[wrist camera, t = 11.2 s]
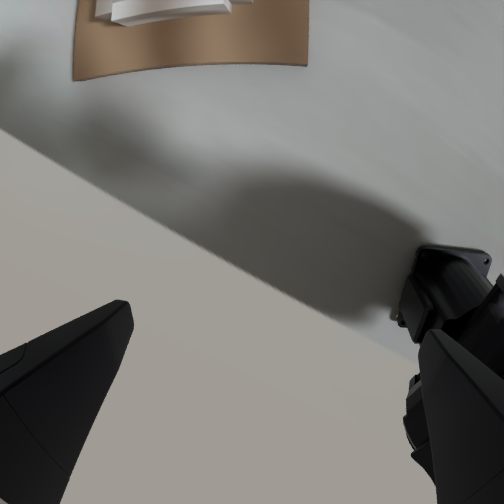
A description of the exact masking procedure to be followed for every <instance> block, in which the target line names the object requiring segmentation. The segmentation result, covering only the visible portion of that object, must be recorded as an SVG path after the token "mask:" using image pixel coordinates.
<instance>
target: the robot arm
mask: <svg viewBox="0 0 504 504" xmlns="http://www.w3.org/2000/svg"><path fill="white" fill-rule="evenodd" d="M423 252H426V254H425V255H424V256H421V255H422V253H423ZM485 259H487V260H486V261H485V262H484V260H485ZM491 261H492V258H491V256H490V255H489V254H487V253H482V252H474V251H465V250H457V249H448V248H439V247H430V246H421V247H419V249H418V250H417V252H416V256H415V260H414V264H413V267H412V271H411V274H410V275H409V276H408V277H407V280H406V283H405V287H404V290H403V293H402V297H401V300H400V303H399V308H400V311H399V314H398V317H397V323H398V325H399V326H400V327H404V328H408V331H409V333H410V336H411V339H412V341H413V342H414V343H415V344H419V345H420V349H419V353H418V360H419V368H420V373H419V374H418V375H415V376H414V377H413V378H412V379H411V380H410V384H409V393H408V396H407V398H406V409H407V410H406V412H407V414H406V415H405V416H404V417H403V424H404V427H405V430H406V435H407V438H408V441H409V443H410V444H411V446H412V448H413V449H414V451H413V452H412V453H411V457H412V458H413V459H414V460H415V461H416V462H417V463H418V464H419V465H420V466H422V467H423V468H424V469H425V471H426V472H427V474H428V475H429V476H430V477H431V479H432V481H433V482H434V484H435V486H436V494H437V504H504V276H503V275H502V274H500V275H499V277H498V278H497V279H496V284H495V285H494V286H493V285H492V284H491V282H490V281H489V280H488V279H487V278H486V276H487V274H488V271H489V268H490V265H491ZM402 320H405V321H403V322H401V321H402ZM133 329H134V321H133V316H132V312H131V307H130V304H129V302H127V301H123V300H114V301H112V302H110V303H108V304H106V305H104V306H102V307H100V308H97V309H95V310H93V311H91V312H89V313H87V314H85V315H83V316H81V317H79V318H76V319H74V320H72V321H70V322H68V323H66V324H64V325H62V326H60V327H58V328H56V329H54V330H51V331H49V332H47V333H45V334H43V335H41V336H39V337H37V338H35V339H33V340H31V341H29V342H28V343H25V344H23V345H21V346H18V347H17V348H14V349H12V350H10V351H8V352H6V353H4V354H1V355H0V504H60V502H61V499H62V497H63V494H64V491H65V489H66V486H67V484H68V482H69V479H70V476H71V474H72V471H73V469H74V466H75V464H76V462H77V459H78V457H79V454H80V452H81V450H82V448H83V445H84V443H85V441H86V438H87V436H88V434H89V431H90V429H91V427H92V425H93V423H94V421H95V418H96V416H97V414H98V412H99V410H100V408H101V405H102V403H103V401H104V399H105V397H106V395H107V393H108V390H109V388H110V386H111V384H112V382H113V380H114V378H115V376H116V374H117V372H118V370H119V367H120V364H121V362H122V359H123V356H124V354H125V351H126V348H127V345H128V343H129V340H130V337H131V335H132V332H133Z"/></svg>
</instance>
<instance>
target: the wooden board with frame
mask: <svg viewBox="0 0 504 504" xmlns="http://www.w3.org/2000/svg"><path fill="white" fill-rule="evenodd" d="M308 37H309V0H79V4H78V12H77V22H76V33H75V47H74V70H73V81H85V80H90V79H95V78H100V77H105V76H111V75H117V74H123V73H129V72H136V71H144V70H152V69H161V68H170V67H182V66H197V65H219V64H268V65H290V66H305V67H307V65H308Z"/></svg>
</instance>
